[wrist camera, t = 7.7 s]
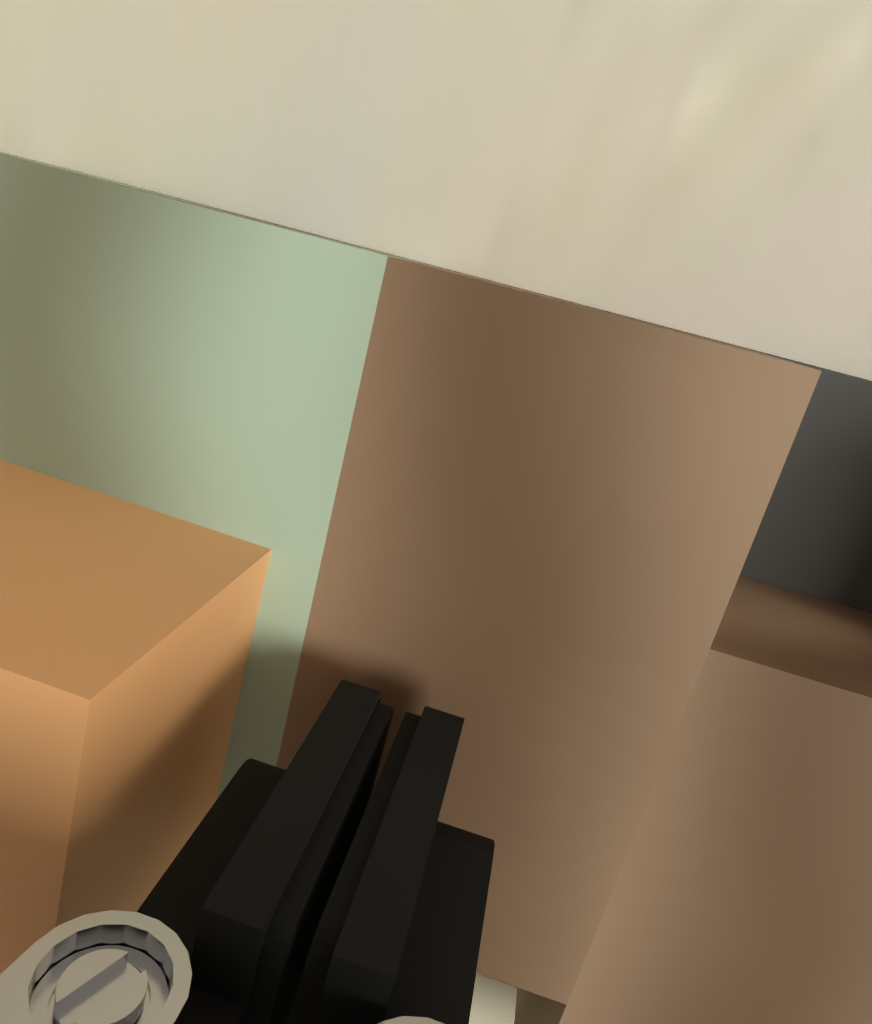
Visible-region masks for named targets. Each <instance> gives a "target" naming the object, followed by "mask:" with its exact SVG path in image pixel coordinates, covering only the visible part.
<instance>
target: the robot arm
mask: <svg viewBox="0 0 872 1024" xmlns="http://www.w3.org/2000/svg"><path fill="white" fill-rule="evenodd" d="M381 699H382V692H381V691H378V690H375V689H372V688H369V687H366V686H363V685H360V684H357V683H353V682H350V681H347V680H344V679H343V680H341V682H340V683H339V685H338V686H337V688H336V690H335V691H334V693H333V694H332V696H331V698H330V699H329V701H328V703H327V704H326V706H325V707H324V709H323V711H322V712H321V714H320V716H319V717H318V719H317V720H316V722H315V724H314V725H313V727H312V729H311V730H310V732H309V733H308V735H307V737H306V738H305V740H304V742H303V743H302V745H301V746H300V748H299V750H298V751H297V753H296V755H295V756H294V758H293V760H292V761H291V763H290V764H289V766H288V768H287V769H286V770H285V769H282V768H279V767H276V766H273V765H270V764H267V763H264V762H261V761H258V760H255V759H252V758H250V759H248V760H246V761H245V762H244V763H243V764H242V766H241V767H240V768H239V769H238V771H237V772H236V774H235V775H234V776H233V778H232V779H231V781H230V782H229V783H228V785H227V786H226V788H225V789H224V790H223V792H222V793H221V795H220V796H219V797H218V799H217V800H216V802H215V803H214V804H213V806H212V807H211V809H210V810H209V811H208V813H207V814H206V815H205V817H204V818H203V820H202V821H201V822H200V824H199V825H198V827H197V828H196V829H195V831H194V832H193V834H192V835H191V836H190V838H189V839H188V841H187V842H186V843H185V845H184V846H183V848H182V849H181V850H180V852H179V853H178V855H177V856H176V857H175V859H174V860H173V862H172V863H171V864H170V866H169V867H168V869H167V870H166V871H165V873H164V874H163V876H162V877H161V878H160V880H159V881H158V882H157V884H156V885H155V887H154V888H153V889H152V891H151V892H150V894H149V895H148V896H147V898H146V899H145V901H144V902H143V903H142V905H141V906H140V908H139V909H138V910H137V912H129V911H116V910H109V911H103V912H97V913H91V914H85V915H82V916H80V917H77V918H75V919H73V920H70V921H68V922H65V923H63V924H61V925H58V926H57V927H56V928H54V929H53V930H51V931H50V932H49V933H47V934H46V935H44V936H43V937H42V938H40V939H39V940H38V941H36V942H35V943H34V944H33V945H32V946H31V947H30V948H28V949H27V950H26V951H25V952H24V953H23V954H22V955H21V956H20V957H19V958H18V959H17V960H15V961H14V962H13V963H12V964H11V965H10V966H9V967H8V968H7V969H6V970H5V971H4V972H3V973H1V974H0V1024H468V1023H469V1016H470V1010H471V1003H472V996H473V989H474V983H475V976H476V969H477V963H478V956H479V949H480V943H481V936H482V929H483V922H484V916H485V909H486V902H487V896H488V889H489V882H490V875H491V869H492V862H493V855H494V847H495V842H494V840H492V839H489V838H487V837H484V836H481V835H478V834H475V833H472V832H469V831H466V830H463V829H460V828H457V827H454V826H451V825H448V824H445V823H442V822H439V821H438V818H439V814H440V810H441V806H442V803H443V799H444V795H445V791H446V787H447V784H448V780H449V776H450V772H451V769H452V765H453V761H454V757H455V754H456V750H457V746H458V742H459V739H460V735H461V731H462V727H463V723H464V720H465V718H462V717H459V716H456V715H453V714H450V713H447V712H443V711H440V710H437V709H434V708H431V707H428V706H425V707H424V710H423V713H422V715H421V716H419V715H416V714H413V713H410V712H407V711H406V713H405V715H404V717H403V720H402V722H401V725H400V727H399V730H398V732H397V734H396V737H395V739H394V742H393V744H392V747H391V749H390V751H389V754H388V756H387V759H386V761H385V764H384V766H383V768H382V771H381V773H380V776H379V778H378V781H377V783H376V785H375V788H374V790H373V787H374V783H375V780H376V776H377V772H378V769H379V765H380V761H381V757H382V754H383V750H384V746H385V742H386V739H387V735H388V731H389V728H390V724H391V720H392V716H393V712H394V707H391V706H388V705H385V704H382V703H381ZM372 791H373V793H372Z"/></svg>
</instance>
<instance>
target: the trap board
mask: <svg viewBox="0 0 872 1024" xmlns="http://www.w3.org/2000/svg"><path fill="white" fill-rule="evenodd" d="M0 460H3V461H6V462H9V463H12V464H15V465H18V466H21V467H24V468H27V469H30V470H33V471H36V472H39V473H42V474H45V475H48V476H51V477H54V478H57V479H60V480H63V481H66V482H69V483H72V484H76V485H79V486H82V487H85V488H88V489H91V490H94V491H97V492H100V493H103V494H106V495H109V496H112V497H115V498H118V499H121V500H124V501H127V502H130V503H133V504H136V505H139V506H142V507H145V508H148V509H151V510H154V511H157V512H160V513H163V514H166V515H169V516H172V517H175V518H178V519H181V520H185V521H188V522H191V523H194V524H197V525H200V526H203V527H206V528H209V529H212V530H215V531H218V532H221V533H224V534H227V535H230V536H233V537H236V538H239V539H242V540H245V541H248V542H251V543H254V544H257V545H260V546H263V547H266V548H269V549H272V550H271V555H270V559H269V564H268V568H267V573H266V577H265V582H264V586H263V591H262V595H261V600H260V604H259V609H258V613H257V618H256V622H255V627H254V631H253V636H252V641H251V645H250V650H249V654H248V659H247V663H246V668H245V672H244V677H243V681H242V686H241V690H240V695H239V699H238V704H237V708H236V713H235V717H234V722H233V726H232V731H231V735H230V740H229V744H228V749H227V753H226V758H225V762H224V767H223V772H222V776H221V781H220V785H219V790H218V794H217V799H218V797H219V796H220V795H221V793H222V792H223V790H224V789H225V788H226V786H227V785H228V783H229V782H230V781H231V779H232V778H233V776H234V775H235V774H236V772H237V771H238V769H239V768H240V767H241V766H242V764H243V763H244V762H245V761H246V760H248V759H250V758H252V759H255V760H258V761H261V762H264V763H267V764H270V765H273V766H276V767H279V768H282V769H285V770H286V769H287V768H288V766H289V764H290V763H291V761H292V760H293V758H294V756H295V755H296V753H297V751H298V750H299V748H300V746H301V745H302V743H303V742H304V740H305V738H306V737H307V735H308V733H309V732H310V730H311V729H312V727H313V725H314V724H315V722H316V720H317V719H318V717H319V716H320V714H321V712H322V711H323V709H324V707H325V706H326V704H327V703H328V701H329V699H330V698H331V696H332V694H333V693H334V691H335V690H336V688H337V686H338V685H339V683H340V682H341V680H343V679H344V680H347V681H350V682H353V683H357V684H360V685H363V686H366V687H369V688H372V689H375V690H378V691H381V692H382V699H381V703H382V704H385V705H388V706H391V707H394V712H393V716H392V720H391V724H390V728H389V731H388V735H387V739H386V742H385V746H384V750H383V754H382V757H381V761H380V765H379V769H378V772H377V776H376V780H375V783H374V787H373V790H374V788H375V785H376V783H377V781H378V778H379V776H380V773H381V771H382V768H383V766H384V764H385V761H386V759H387V756H388V754H389V751H390V749H391V747H392V744H393V742H394V739H395V737H396V734H397V732H398V730H399V727H400V725H401V722H402V720H403V717H404V715H405V713H406V711H407V712H410V713H413V714H416V715H419V716H421V715H422V713H423V710H424V707H425V706H428V707H431V708H434V709H437V710H440V711H443V712H447V713H450V714H453V715H456V716H459V717H462V718H465V720H464V723H463V727H462V731H461V735H460V739H459V742H458V746H457V750H456V754H455V757H454V761H453V765H452V769H451V772H450V776H449V780H448V784H447V787H446V791H445V795H444V799H443V803H442V806H441V810H440V814H439V818H438V821H439V822H442V823H445V824H448V825H451V826H454V827H457V828H460V829H463V830H466V831H469V832H472V833H475V834H478V835H481V836H484V837H487V838H489V839H492V840H494V842H495V847H494V855H493V862H492V869H491V875H490V882H489V889H488V896H487V902H486V909H485V916H484V922H483V929H482V936H481V943H480V949H479V956H478V963H477V969H476V973H478V974H481V975H484V976H487V977H489V978H492V979H495V980H498V981H501V982H504V983H506V984H509V985H512V986H515V987H517V999H516V1011H515V1023H514V1024H872V381H869V380H865V379H862V378H858V377H854V376H850V375H846V374H843V373H839V372H835V371H831V370H827V369H824V368H820V367H816V366H812V365H808V364H805V363H801V362H797V361H793V360H789V359H786V358H782V357H778V356H774V355H771V354H767V353H763V352H759V351H755V350H752V349H748V348H744V347H740V346H736V345H733V344H729V343H725V342H721V341H717V340H714V339H710V338H706V337H702V336H698V335H695V334H691V333H687V332H683V331H680V330H676V329H672V328H668V327H664V326H661V325H657V324H653V323H649V322H645V321H642V320H638V319H634V318H630V317H626V316H623V315H619V314H615V313H611V312H608V311H604V310H600V309H596V308H592V307H589V306H585V305H581V304H577V303H573V302H570V301H566V300H562V299H558V298H554V297H551V296H547V295H543V294H539V293H535V292H532V291H528V290H524V289H520V288H517V287H513V286H509V285H505V284H501V283H498V282H494V281H490V280H486V279H482V278H479V277H475V276H471V275H467V274H463V273H460V272H456V271H452V270H448V269H444V268H441V267H437V266H433V265H429V264H426V263H422V262H418V261H414V260H410V259H407V258H403V257H399V256H395V255H391V254H388V253H384V252H380V251H376V250H372V249H369V248H365V247H361V246H357V245H353V244H350V243H346V242H342V241H338V240H335V239H331V238H327V237H323V236H319V235H316V234H312V233H308V232H304V231H300V230H297V229H293V228H289V227H285V226H281V225H278V224H274V223H270V222H266V221H263V220H259V219H255V218H251V217H247V216H244V215H240V214H236V213H232V212H228V211H225V210H221V209H217V208H213V207H209V206H206V205H202V204H198V203H194V202H190V201H187V200H183V199H179V198H175V197H172V196H168V195H164V194H160V193H156V192H153V191H149V190H145V189H141V188H137V187H134V186H130V185H126V184H122V183H118V182H115V181H111V180H107V179H103V178H99V177H96V176H92V175H88V174H84V173H81V172H77V171H73V170H69V169H65V168H62V167H58V166H54V165H50V164H46V163H42V162H38V161H34V160H30V159H26V158H22V157H18V156H14V155H10V154H6V153H2V152H0ZM372 793H373V791H372ZM217 799H216V800H217Z"/></svg>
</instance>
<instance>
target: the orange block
mask: <svg viewBox="0 0 872 1024" xmlns="http://www.w3.org/2000/svg"><path fill="white" fill-rule="evenodd" d="M271 550H272V549H269V548H266V547H263V546H260V545H257V544H254V543H251V542H248V541H245V540H242V539H239V538H236V537H233V536H230V535H227V534H224V533H221V532H218V531H215V530H212V529H209V528H206V527H203V526H200V525H197V524H194V523H191V522H188V521H185V520H181V519H178V518H175V517H172V516H169V515H166V514H163V513H160V512H157V511H154V510H151V509H148V508H145V507H142V506H139V505H136V504H133V503H130V502H127V501H124V500H121V499H118V498H115V497H112V496H109V495H106V494H103V493H100V492H97V491H94V490H91V489H88V488H85V487H82V486H79V485H76V484H72V483H69V482H66V481H63V480H60V479H57V478H54V477H51V476H48V475H45V474H42V473H39V472H36V471H33V470H30V469H27V468H24V467H21V466H18V465H15V464H12V463H9V462H6V461H3V460H0V974H1V973H3V972H4V971H5V970H6V969H7V968H8V967H9V966H10V965H11V964H12V963H13V962H14V961H15V960H17V959H18V958H19V957H20V956H21V955H22V954H23V953H24V952H25V951H26V950H27V949H28V948H30V947H31V946H32V945H33V944H34V943H35V942H36V941H38V940H39V939H40V938H42V937H43V936H44V935H46V934H47V933H49V932H50V931H51V930H53V929H54V928H56V927H57V926H58V925H61V924H63V923H65V922H68V921H70V920H73V919H75V918H77V917H80V916H82V915H85V914H91V913H97V912H103V911H109V910H116V911H129V912H137V910H138V909H139V908H140V906H141V905H142V903H143V902H144V901H145V899H146V898H147V896H148V895H149V894H150V892H151V891H152V889H153V888H154V887H155V885H156V884H157V882H158V881H159V880H160V878H161V877H162V876H163V874H164V873H165V871H166V870H167V869H168V867H169V866H170V864H171V863H172V862H173V860H174V859H175V857H176V856H177V855H178V853H179V852H180V850H181V849H182V848H183V846H184V845H185V843H186V842H187V841H188V839H189V838H190V836H191V835H192V834H193V832H194V831H195V829H196V828H197V827H198V825H199V824H200V822H201V821H202V820H203V818H204V817H205V815H206V814H207V813H208V811H209V810H210V809H211V807H212V806H213V804H214V803H215V802H216V799H217V794H218V790H219V785H220V781H221V776H222V772H223V767H224V762H225V758H226V753H227V749H228V744H229V740H230V735H231V731H232V726H233V722H234V717H235V713H236V708H237V704H238V699H239V695H240V690H241V686H242V681H243V677H244V672H245V668H246V663H247V659H248V654H249V650H250V645H251V641H252V636H253V631H254V627H255V622H256V618H257V613H258V609H259V604H260V600H261V595H262V591H263V586H264V582H265V577H266V573H267V568H268V564H269V559H270V555H271Z"/></svg>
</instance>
